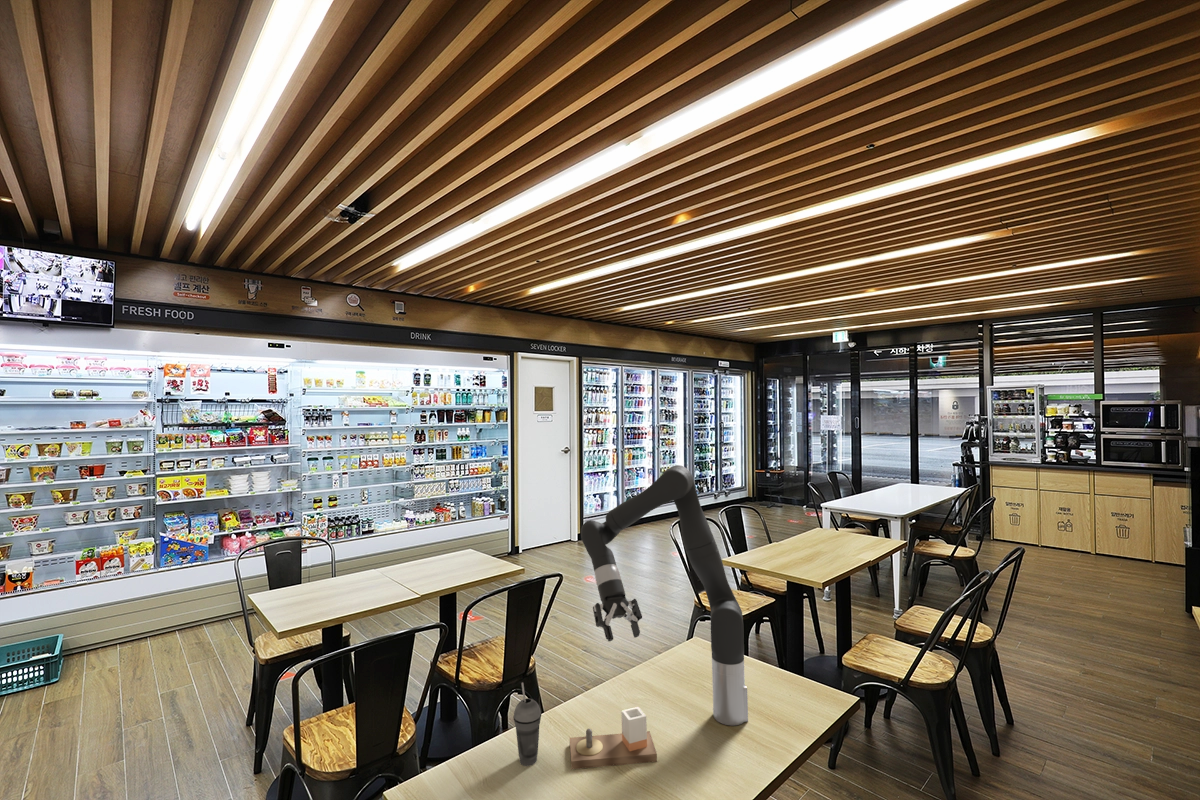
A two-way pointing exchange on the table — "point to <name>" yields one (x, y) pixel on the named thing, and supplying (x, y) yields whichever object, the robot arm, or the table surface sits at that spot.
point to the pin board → (607, 751)
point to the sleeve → (634, 728)
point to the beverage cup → (527, 729)
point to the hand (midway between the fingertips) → (624, 638)
